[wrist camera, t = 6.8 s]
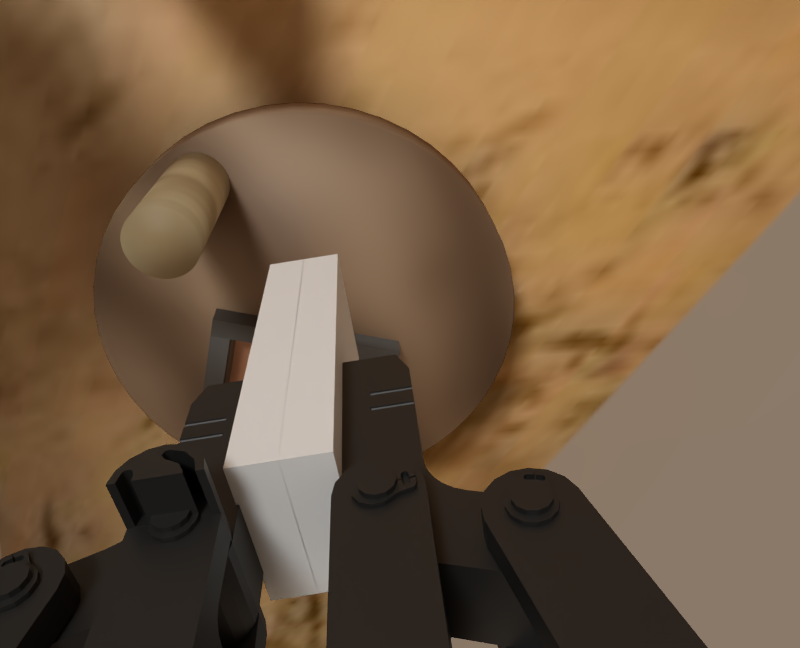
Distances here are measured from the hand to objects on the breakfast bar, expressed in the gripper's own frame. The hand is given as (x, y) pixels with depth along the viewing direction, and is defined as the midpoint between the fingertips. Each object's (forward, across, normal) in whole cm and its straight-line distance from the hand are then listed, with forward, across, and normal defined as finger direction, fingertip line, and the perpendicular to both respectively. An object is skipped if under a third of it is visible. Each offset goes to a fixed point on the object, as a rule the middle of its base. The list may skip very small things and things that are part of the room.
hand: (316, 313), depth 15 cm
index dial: (+14, -2, -7) cm, 16 cm away
